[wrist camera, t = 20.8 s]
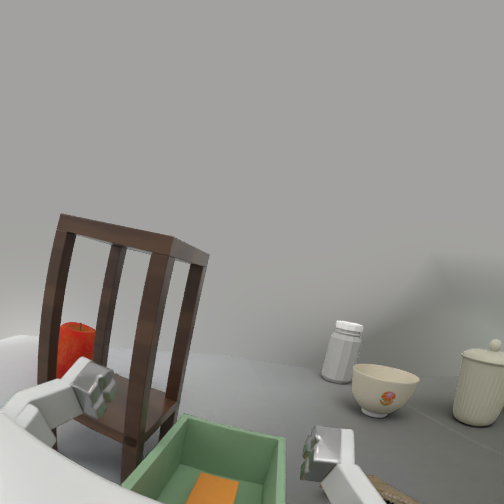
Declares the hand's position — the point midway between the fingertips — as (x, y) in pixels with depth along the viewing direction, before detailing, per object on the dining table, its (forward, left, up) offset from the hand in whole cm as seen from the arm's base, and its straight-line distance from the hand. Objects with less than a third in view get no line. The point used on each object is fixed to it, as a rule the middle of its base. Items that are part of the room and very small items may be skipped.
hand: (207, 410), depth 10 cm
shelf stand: (+17, +13, -19) cm, 28 cm away
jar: (+80, -24, -19) cm, 85 cm away
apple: (+32, +29, -19) cm, 47 cm away
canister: (+50, -57, -19) cm, 78 cm away
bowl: (+54, -29, -19) cm, 64 cm away
